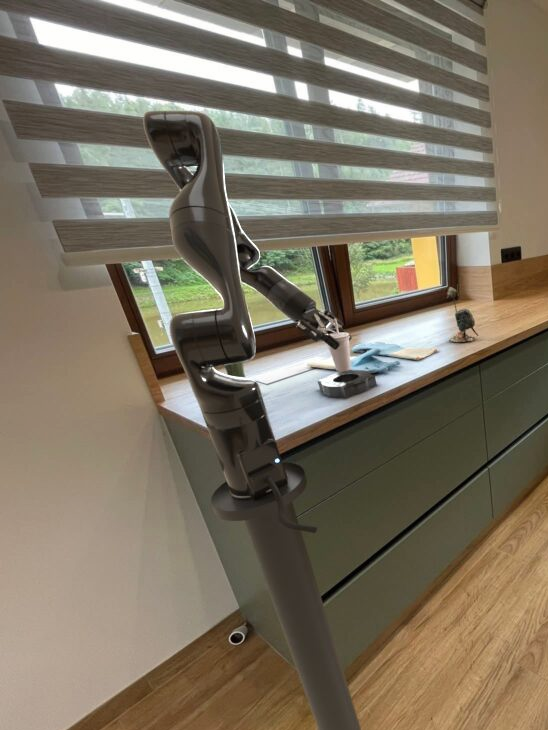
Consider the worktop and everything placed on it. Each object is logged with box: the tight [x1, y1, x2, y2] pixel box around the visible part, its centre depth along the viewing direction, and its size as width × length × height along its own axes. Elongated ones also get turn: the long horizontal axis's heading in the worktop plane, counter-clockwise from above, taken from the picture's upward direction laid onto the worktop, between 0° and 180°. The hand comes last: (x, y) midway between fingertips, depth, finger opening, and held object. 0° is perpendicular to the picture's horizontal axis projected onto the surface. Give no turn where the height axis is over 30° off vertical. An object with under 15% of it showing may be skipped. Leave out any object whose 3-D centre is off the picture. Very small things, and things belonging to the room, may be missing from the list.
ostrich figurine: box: [446, 286, 480, 343], centre depth 154 cm, size 8×11×20 cm
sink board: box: [317, 370, 378, 399], centre depth 118 cm, size 13×13×3 cm
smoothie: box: [326, 318, 351, 373], centre depth 114 cm, size 6×6×14 cm
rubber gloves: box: [307, 341, 438, 374], centre depth 141 cm, size 27×33×6 cm
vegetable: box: [223, 362, 247, 378], centre depth 108 cm, size 4×4×20 cm
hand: (344, 343), depth 114 cm, fingers closed on smoothie, 6 cm apart
